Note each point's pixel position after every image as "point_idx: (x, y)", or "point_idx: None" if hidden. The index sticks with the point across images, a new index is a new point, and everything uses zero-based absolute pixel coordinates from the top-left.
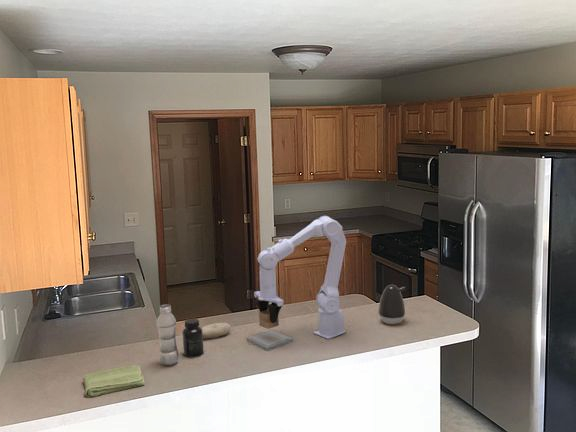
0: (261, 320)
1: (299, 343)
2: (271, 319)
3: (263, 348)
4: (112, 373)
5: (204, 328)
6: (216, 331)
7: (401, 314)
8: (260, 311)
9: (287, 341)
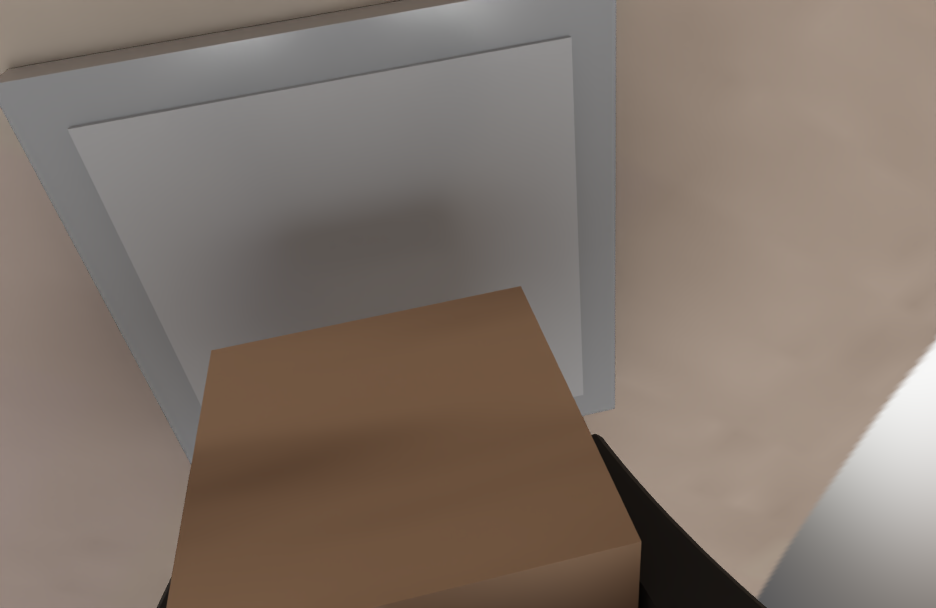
0: (462, 396)
1: (111, 503)
2: (166, 605)
3: (115, 51)
4: None
5: None
6: None
7: None
8: (675, 581)
9: (177, 426)
